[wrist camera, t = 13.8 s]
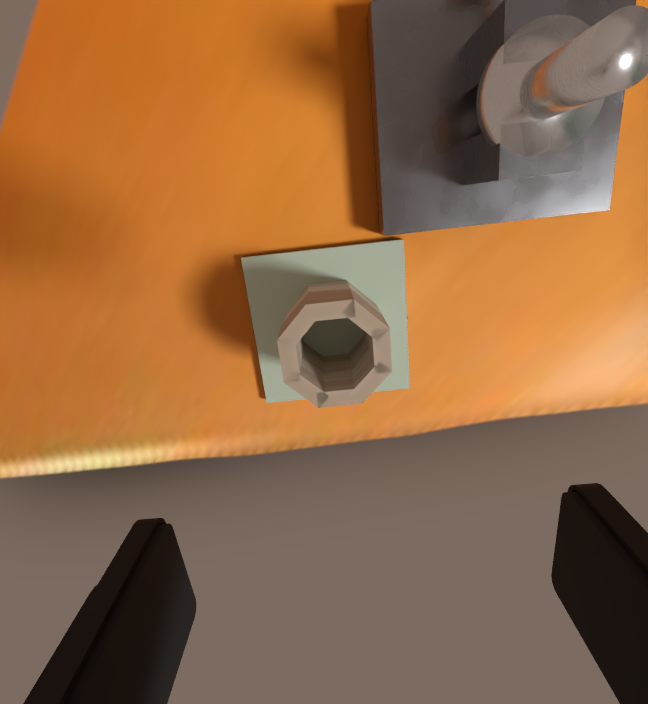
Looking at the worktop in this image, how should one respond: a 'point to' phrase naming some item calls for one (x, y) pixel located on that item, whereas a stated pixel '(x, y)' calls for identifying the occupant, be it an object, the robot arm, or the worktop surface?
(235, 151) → the worktop surface
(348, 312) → the hollow octagonal tube
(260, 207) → the worktop surface
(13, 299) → the worktop surface
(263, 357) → the mat
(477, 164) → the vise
